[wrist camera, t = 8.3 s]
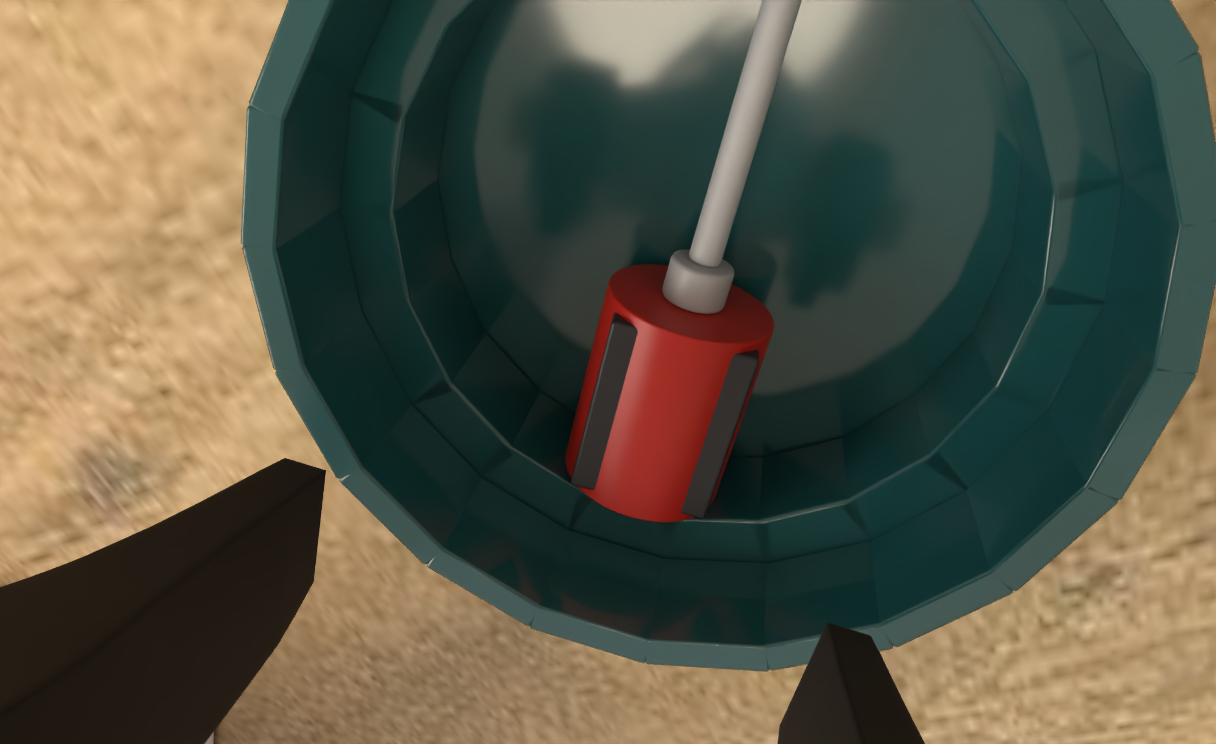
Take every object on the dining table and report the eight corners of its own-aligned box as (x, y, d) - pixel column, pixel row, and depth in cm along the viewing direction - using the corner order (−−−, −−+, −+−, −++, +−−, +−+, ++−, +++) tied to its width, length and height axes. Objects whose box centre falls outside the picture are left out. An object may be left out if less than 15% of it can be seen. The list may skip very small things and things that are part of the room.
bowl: (926, 572, 22) (963, 763, 17) (348, 400, 23) (226, 535, 18) (1262, -91, 15) (1478, -87, 10) (427, -305, 16) (268, -394, 11)
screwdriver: (716, 452, 21) (714, 540, 18) (576, 414, 21) (552, 498, 18) (891, -61, 16) (925, -49, 13) (708, -109, 16) (703, -108, 13)
